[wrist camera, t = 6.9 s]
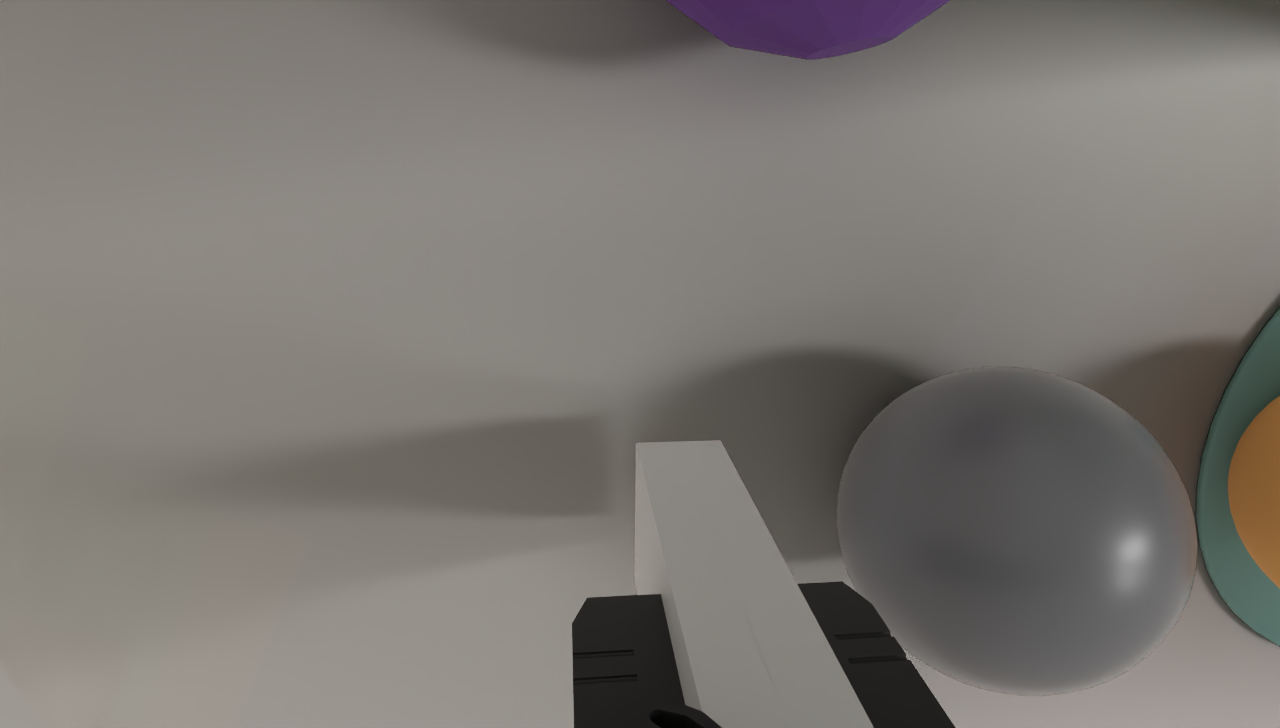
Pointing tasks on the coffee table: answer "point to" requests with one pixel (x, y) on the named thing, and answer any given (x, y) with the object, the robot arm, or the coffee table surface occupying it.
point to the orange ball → (1258, 489)
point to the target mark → (1248, 591)
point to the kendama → (806, 23)
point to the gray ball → (1017, 531)
